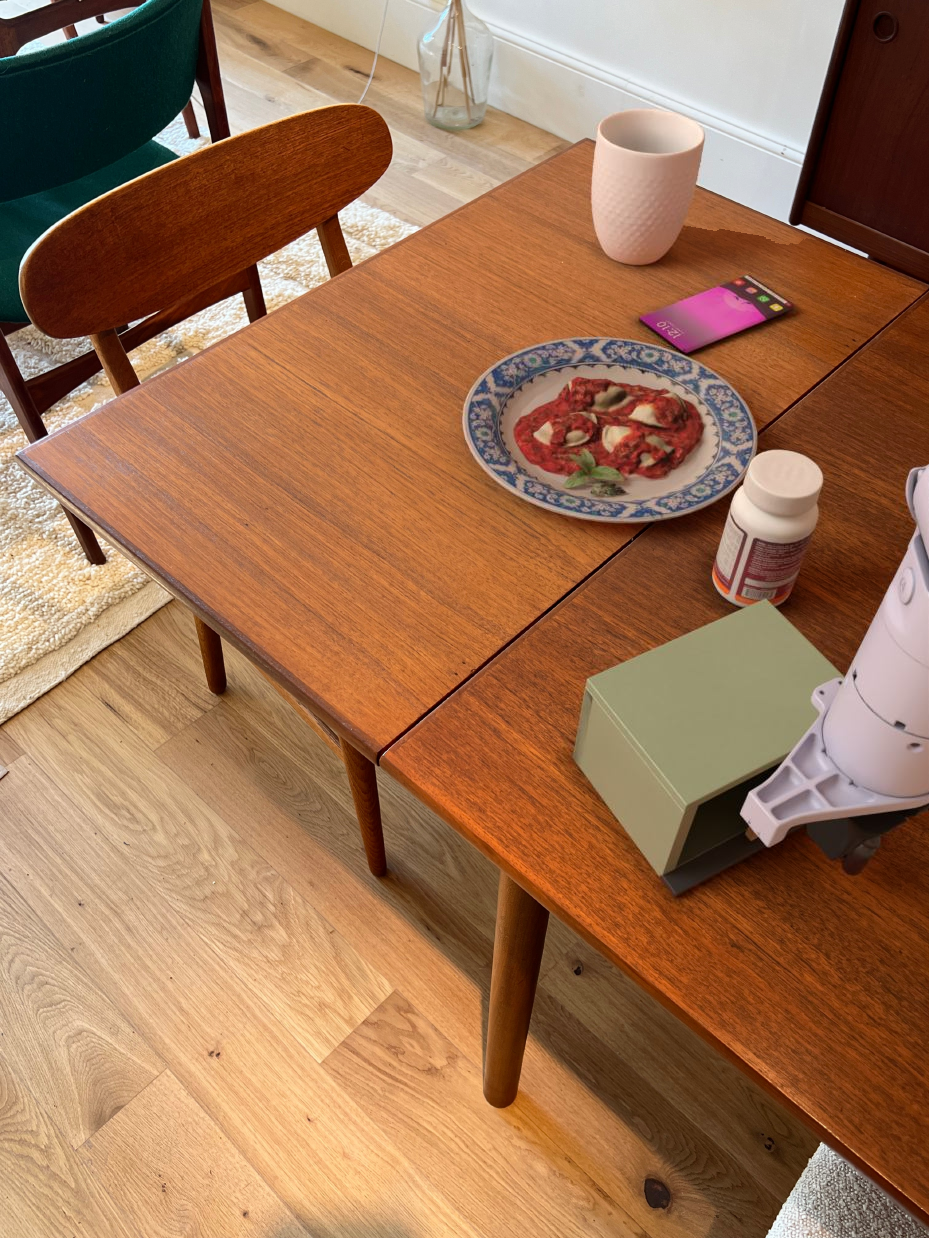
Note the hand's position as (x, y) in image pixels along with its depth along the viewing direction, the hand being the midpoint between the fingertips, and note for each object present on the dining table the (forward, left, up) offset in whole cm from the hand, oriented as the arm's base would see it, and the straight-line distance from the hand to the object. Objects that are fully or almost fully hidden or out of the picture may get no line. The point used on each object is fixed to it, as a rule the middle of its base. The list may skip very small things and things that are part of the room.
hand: (828, 840), depth 53 cm
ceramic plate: (+42, -16, -10) cm, 46 cm away
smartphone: (+54, -37, -9) cm, 66 cm away
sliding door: (+2, -5, -8) cm, 10 cm away
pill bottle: (+22, -16, -10) cm, 29 cm away
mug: (+70, -38, -10) cm, 80 cm away
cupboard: (+10, -2, -9) cm, 14 cm away
